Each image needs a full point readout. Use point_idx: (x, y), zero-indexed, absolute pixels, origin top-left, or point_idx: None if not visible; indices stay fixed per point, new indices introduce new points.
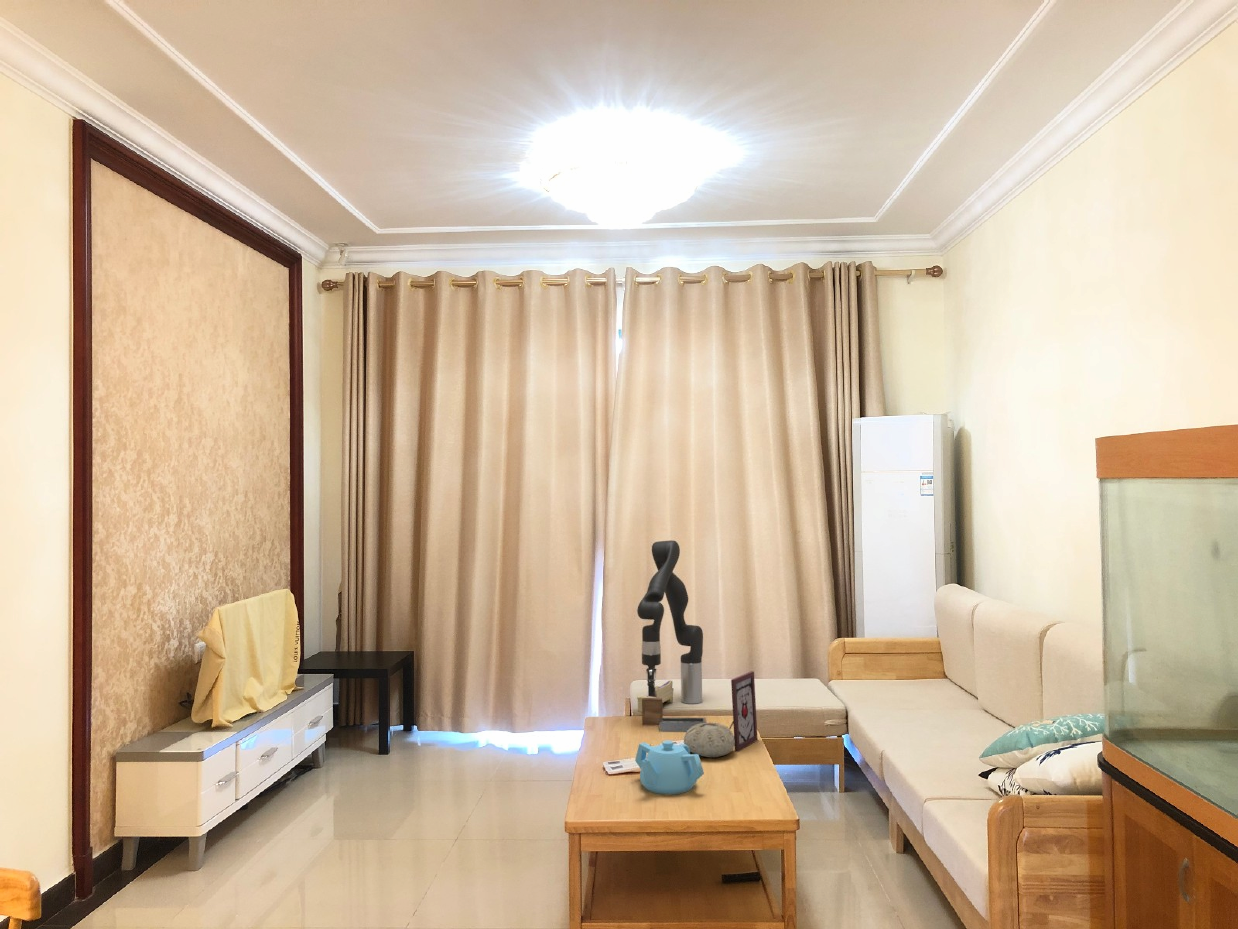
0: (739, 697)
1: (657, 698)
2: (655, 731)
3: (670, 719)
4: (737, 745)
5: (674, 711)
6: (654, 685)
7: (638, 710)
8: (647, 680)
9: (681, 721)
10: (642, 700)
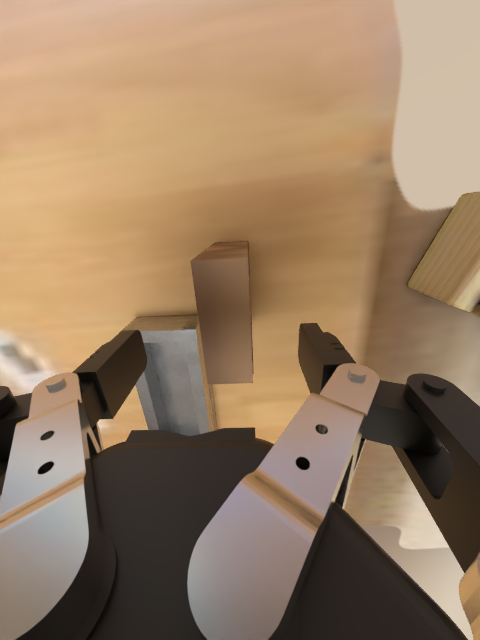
0: None
1: (233, 359)
2: (135, 303)
3: (189, 366)
4: None
5: (423, 352)
6: (310, 388)
7: (465, 195)
8: (53, 412)
9: (151, 404)
10: (191, 264)
